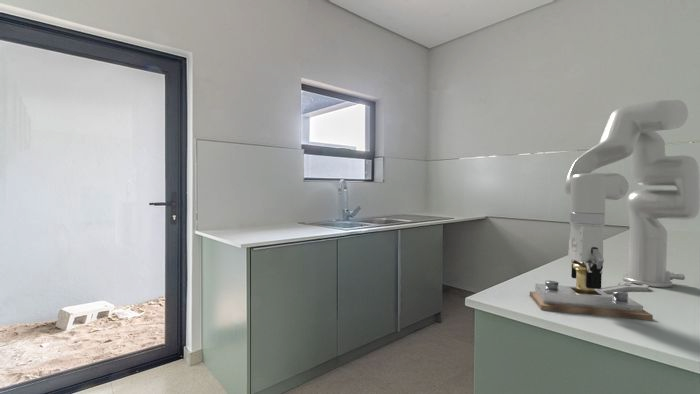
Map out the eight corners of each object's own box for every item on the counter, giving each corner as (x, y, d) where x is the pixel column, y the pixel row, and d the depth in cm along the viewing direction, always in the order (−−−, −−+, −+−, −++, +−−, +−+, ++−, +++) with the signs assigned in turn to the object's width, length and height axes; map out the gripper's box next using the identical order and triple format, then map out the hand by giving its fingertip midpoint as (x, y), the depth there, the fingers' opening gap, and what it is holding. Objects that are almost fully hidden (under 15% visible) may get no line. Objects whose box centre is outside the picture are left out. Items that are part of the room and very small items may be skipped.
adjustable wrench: (589, 298, 97) (589, 292, 97) (570, 291, 103) (570, 286, 103) (652, 291, 103) (652, 285, 103) (630, 285, 109) (630, 280, 109)
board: (626, 303, 91) (626, 299, 91) (652, 320, 79) (652, 315, 79) (529, 295, 97) (529, 291, 97) (541, 309, 86) (541, 305, 86)
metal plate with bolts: (625, 301, 89) (626, 283, 89) (642, 311, 81) (643, 292, 81) (535, 293, 95) (535, 277, 95) (543, 303, 87) (543, 285, 87)
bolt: (592, 299, 90) (592, 263, 90) (601, 306, 85) (602, 268, 85) (568, 297, 92) (569, 262, 92) (576, 304, 87) (577, 266, 86)
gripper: (559, 216, 97) (558, 274, 98) (584, 222, 80) (582, 291, 81) (589, 217, 95) (587, 276, 95) (620, 223, 78) (618, 294, 79)
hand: (585, 283), depth 88 cm, fingers open, 9 cm apart
